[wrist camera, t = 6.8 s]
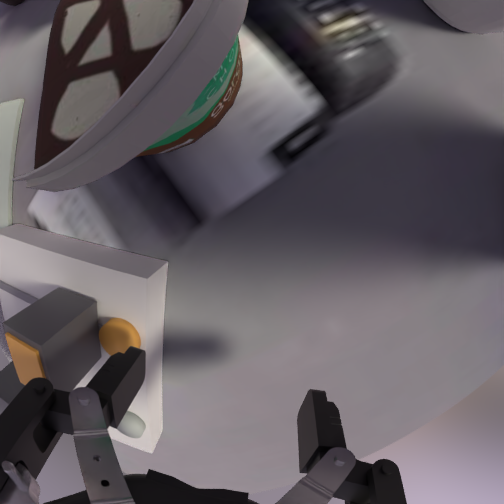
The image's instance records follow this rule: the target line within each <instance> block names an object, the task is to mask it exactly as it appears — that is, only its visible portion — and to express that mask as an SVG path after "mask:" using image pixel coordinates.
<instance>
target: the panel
mask: <svg viewBox="0 0 504 504" xmlns="http://www.w3.org/2000/svg"><path fill="white" fill-rule="evenodd" d="M167 271H168V261H165V260H160V259H156V258H152V257H148V256H143V255H139V254H135V253H131V252H127V251H123V250H118V249H114V248H110V247H106V246H102V245H98V244H94V243H90V242H86V241H83V240H79V239H75V238H71V237H67V236H63V235H59V234H56V233H52V232H48V231H44V230H41V229H37V228H33V227H30V226H26V225H22V224H19V223H18V224H15V225H11V226H8V227H5V228H1V229H0V301H1V306H2V311H3V316H4V320H5V321H6V320H8V319H9V318H11V317H12V316H14V315H15V314H17V313H18V312H20V311H21V310H23V309H25V308H26V307H28V306H29V305H31V304H32V303H34V302H36V301H37V300H39V299H40V298H42V297H44V296H45V295H47V294H48V293H50V292H52V291H53V290H55V289H57V288H58V287H60V288H62V289H65V290H67V291H70V292H73V293H76V294H78V295H81V296H84V297H87V298H90V299H92V300H95V301H97V312H98V326H99V340H100V347H101V355H102V357H101V358H100V360H99V361H98V362H97V363H96V364H95V365H94V366H93V367H92V369H91V370H90V371H89V372H88V373H87V374H86V375H85V377H84V378H83V379H82V380H81V381H80V382H79V383H78V385H77V386H76V387H75V388H78V387H85V386H86V385H87V384H88V383H89V382H90V380H91V379H92V378H93V377H94V375H95V374H96V373H97V372H98V371H99V369H101V367H102V366H103V364H105V362H106V361H107V360H108V358H109V357H110V356H112V355H114V354H115V353H117V352H121V353H123V354H124V353H125V352H126V350H127V349H128V348H129V347H130V346H133V347H136V348H139V349H142V350H145V352H146V374H145V379H144V382H143V384H142V386H141V388H140V390H139V391H138V393H137V395H136V396H135V398H134V400H133V401H132V403H131V405H130V407H129V408H128V410H127V412H126V413H125V415H124V417H123V419H122V420H121V422H120V424H119V426H118V427H117V429H115V428H113V427H111V426H109V428H108V429H107V430H108V432H109V435H110V438H112V439H115V440H117V441H119V442H122V443H124V444H127V445H129V446H132V447H135V448H137V449H140V450H143V451H146V452H148V453H151V454H152V453H153V451H154V449H155V446H156V444H157V442H158V439H159V437H160V435H161V433H162V430H163V420H162V358H163V330H164V311H165V296H166V283H167ZM75 388H74V389H75ZM74 389H73V390H74Z"/></svg>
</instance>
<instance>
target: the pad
mask: <svg viewBox="0 0 504 504" xmlns="http://www.w3.org/2000/svg"><path fill="white" fill-rule="evenodd" d="M24 100H25V99H16V100H12V101H7V102H3V103H0V229H1V228H5V227H8V226H11V225H12V189H13V181H12V178H13V173H14V161H15V152H16V144H17V137H18V131H19V125H20V119H21V114H22V109H23V104H24Z"/></svg>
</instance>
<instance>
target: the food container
mask: <svg viewBox="0 0 504 504" xmlns="http://www.w3.org/2000/svg"><path fill="white" fill-rule="evenodd" d="M247 5H248V0H61V1H60V3H59V5H58V7H57V9H56V12H55V15H54V20H53V24H52V28H51V32H50V37H49V44H48V51H47V58H46V67H45V74H44V82H43V91H42V97H41V104H40V111H39V120H38V129H37V139H36V150H35V167H34V170H33V171H31V172H29V173H28V174H24V175H21V176H17V177H14V178H12V181H20V180H27V183H26V184H27V188H33V189H40V190H46V191H52V192H57V191H63V190H69V189H74V188H77V187H80V186H83V185H85V184H88V183H91V182H94V181H96V180H98V179H100V178H102V177H104V176H105V175H107V174H109V173H111V172H113V171H115V170H117V169H119V168H120V167H122V166H123V165H124V164H126V163H127V162H128V161H130V160H131V159H133V158H134V157H138V156H145V155H152V154H159V153H167V152H171V151H173V150H176V149H178V148H181V147H184V146H186V145H189V144H191V143H194V142H195V141H197V140H198V139H199V138H201V137H202V136H203V135H205V134H206V133H207V132H209V131H210V130H211V129H213V128H214V127H216V126H217V124H218V123H219V122H220V120H221V119H222V118H223V117H224V115H225V114H226V113H227V112H228V110H229V109H230V108H231V107H232V105H233V103H234V101H235V98H236V96H237V93H238V91H239V88H240V86H241V80H242V57H241V51H240V45H239V38H238V32H239V30H240V28H241V25H242V23H243V21H244V18H245V14H246V9H247Z"/></svg>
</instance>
